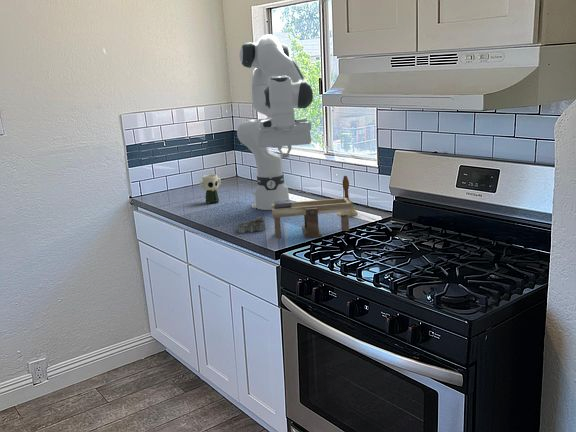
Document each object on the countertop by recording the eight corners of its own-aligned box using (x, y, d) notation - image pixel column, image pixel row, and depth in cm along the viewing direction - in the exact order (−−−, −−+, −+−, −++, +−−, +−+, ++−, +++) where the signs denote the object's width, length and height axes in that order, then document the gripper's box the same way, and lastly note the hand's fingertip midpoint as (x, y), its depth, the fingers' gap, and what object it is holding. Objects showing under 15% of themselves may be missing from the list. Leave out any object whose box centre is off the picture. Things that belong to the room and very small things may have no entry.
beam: (272, 211, 219) (271, 204, 218) (346, 205, 220) (346, 197, 219) (273, 217, 210) (272, 209, 209) (350, 211, 211) (349, 203, 210)
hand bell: (349, 217, 234) (348, 178, 230) (333, 215, 240) (331, 176, 236) (361, 213, 240) (360, 174, 236) (345, 210, 246) (343, 173, 242)
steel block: (274, 210, 216) (274, 201, 216) (291, 209, 217) (290, 199, 216) (275, 213, 212) (274, 204, 211) (291, 212, 212) (291, 202, 211)
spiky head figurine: (205, 205, 272) (203, 178, 269) (198, 203, 278) (195, 176, 275) (226, 201, 278) (223, 174, 275) (218, 199, 284) (216, 173, 281)
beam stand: (274, 230, 223) (272, 203, 221) (344, 224, 224) (343, 197, 222) (276, 240, 209) (274, 212, 207) (351, 234, 210) (349, 206, 208)
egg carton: (264, 226, 231) (263, 216, 230) (265, 231, 224) (264, 221, 223) (237, 228, 230) (236, 218, 229) (237, 233, 223) (236, 223, 222)
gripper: (309, 117, 220) (311, 153, 224) (255, 121, 219) (258, 158, 223) (311, 119, 214) (313, 157, 218) (255, 123, 213) (258, 161, 217)
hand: (285, 157), depth 220 cm, fingers closed
